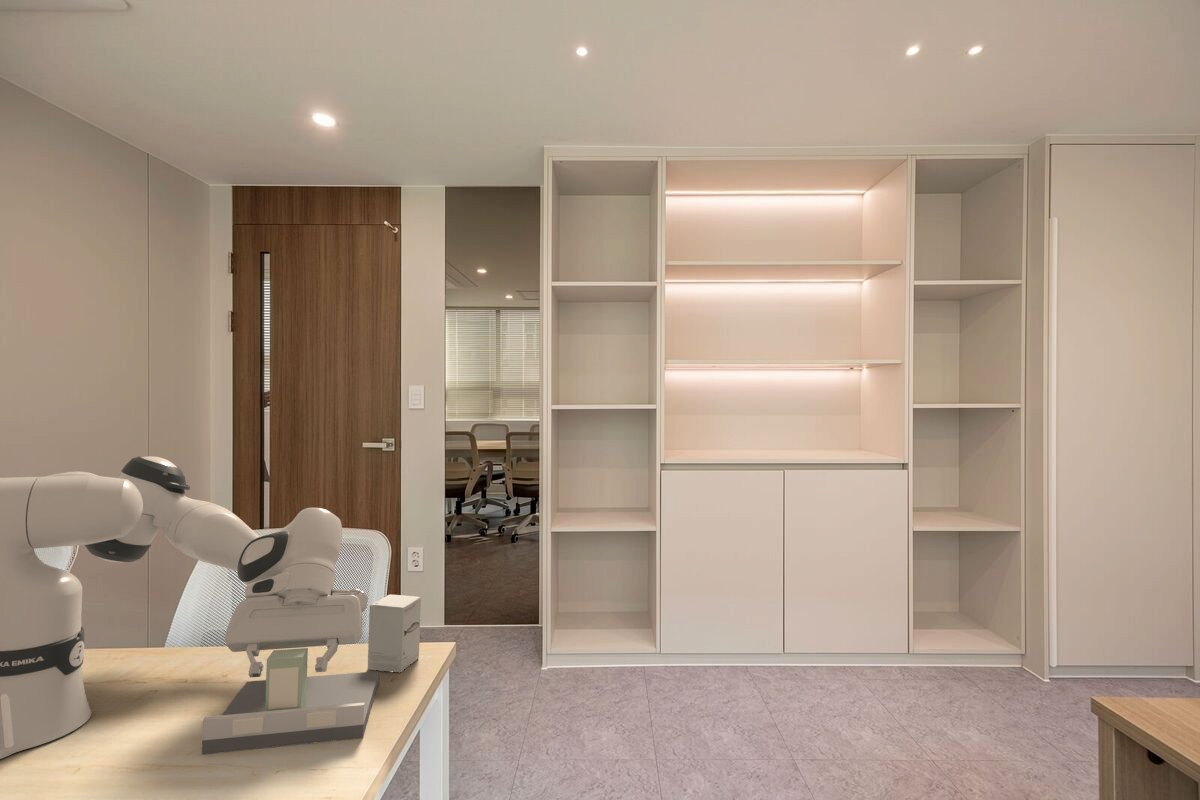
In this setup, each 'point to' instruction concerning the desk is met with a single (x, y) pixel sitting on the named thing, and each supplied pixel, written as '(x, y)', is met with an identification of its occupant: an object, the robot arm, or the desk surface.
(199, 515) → the robot arm
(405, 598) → the supplement box
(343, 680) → the shelf board
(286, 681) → the sage carton
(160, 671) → the desk surface
